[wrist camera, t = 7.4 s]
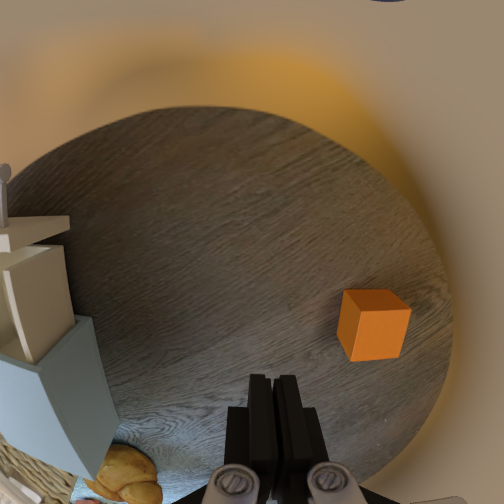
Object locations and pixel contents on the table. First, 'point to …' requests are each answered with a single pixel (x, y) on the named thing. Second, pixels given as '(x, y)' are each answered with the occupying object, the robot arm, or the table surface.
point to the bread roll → (127, 477)
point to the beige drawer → (31, 283)
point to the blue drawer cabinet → (60, 404)
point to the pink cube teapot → (87, 502)
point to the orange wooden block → (372, 324)
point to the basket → (31, 479)
